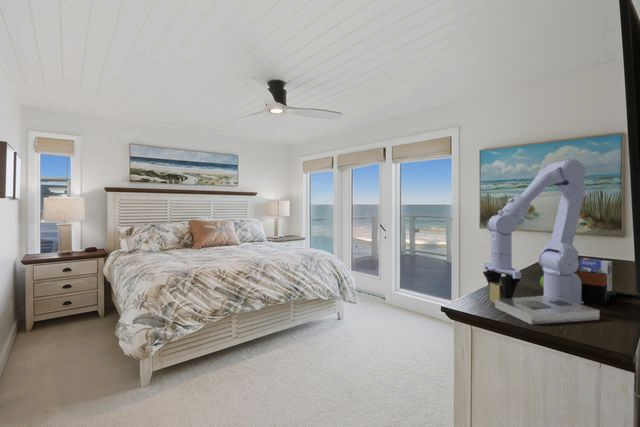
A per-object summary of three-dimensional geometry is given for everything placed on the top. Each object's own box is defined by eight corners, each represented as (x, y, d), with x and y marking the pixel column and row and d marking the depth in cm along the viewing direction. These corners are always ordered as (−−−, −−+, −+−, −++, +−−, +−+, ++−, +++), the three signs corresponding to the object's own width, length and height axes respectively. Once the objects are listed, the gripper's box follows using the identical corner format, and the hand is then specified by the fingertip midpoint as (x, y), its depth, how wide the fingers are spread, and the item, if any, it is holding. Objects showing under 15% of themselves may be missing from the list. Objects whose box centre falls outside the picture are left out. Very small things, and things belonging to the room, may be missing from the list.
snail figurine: (552, 287, 117) (552, 254, 117) (561, 292, 111) (561, 257, 110) (536, 287, 118) (536, 254, 118) (543, 291, 112) (544, 257, 112)
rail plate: (554, 303, 99) (554, 295, 99) (599, 319, 85) (599, 309, 85) (494, 307, 97) (494, 298, 96) (531, 324, 83) (531, 314, 83)
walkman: (579, 292, 110) (579, 257, 110) (583, 291, 112) (583, 257, 111) (608, 298, 104) (608, 261, 103) (612, 296, 105) (612, 260, 104)
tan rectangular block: (502, 300, 104) (502, 281, 103) (512, 304, 99) (512, 284, 99) (489, 300, 103) (489, 282, 103) (499, 305, 99) (499, 285, 98)
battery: (604, 305, 97) (604, 272, 96) (576, 300, 102) (576, 269, 102) (607, 302, 100) (607, 270, 99) (579, 297, 105) (580, 267, 105)
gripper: (475, 250, 107) (475, 290, 108) (505, 257, 93) (505, 304, 93) (494, 249, 108) (494, 289, 109) (527, 256, 94) (527, 302, 94)
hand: (501, 296), depth 101 cm, fingers open, 6 cm apart
